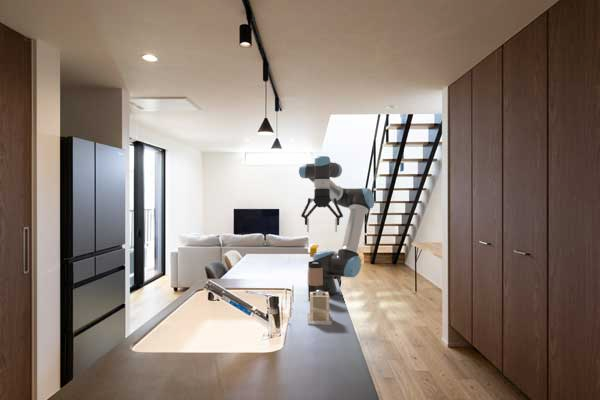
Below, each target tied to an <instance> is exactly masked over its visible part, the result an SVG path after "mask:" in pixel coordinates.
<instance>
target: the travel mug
mask: <svg viewBox="0 0 600 400" xmlns="http://www.w3.org/2000/svg"><path fill="white" fill-rule="evenodd" d="M307 290H308V292H307V293H308V302H309V303H310V292H316V290H323V262H320V261H313V260H312V261H311V260H310V261H308V267H307Z"/></svg>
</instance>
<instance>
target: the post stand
mask: <svg viewBox="0 0 600 400" xmlns="http://www.w3.org/2000/svg"><path fill="white" fill-rule="evenodd" d="M316 296H323V290H316ZM332 322H333V321H332V316H331V313H329V320H310V313H307V325H309V326H310V325H312V326H314V325H317V326H318V325H319V326H320V325H322V326H326V325H327V326H329V325H330V326H331V325H332V324H333V323H332Z"/></svg>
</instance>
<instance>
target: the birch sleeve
mask: <svg viewBox="0 0 600 400" xmlns="http://www.w3.org/2000/svg"><path fill="white" fill-rule="evenodd" d="M309 314H310V320H329V314H330V295H329V294H328V292H323V296H316V292H310V302H309Z"/></svg>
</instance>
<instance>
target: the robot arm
mask: <svg viewBox="0 0 600 400" xmlns="http://www.w3.org/2000/svg"><path fill="white" fill-rule="evenodd" d="M342 172H343V169H342V166H341V165H340V164H339V163H337V162H332V161H331V158H330V157H329V156H327V155H321V156H320V155H318V156H316V157H315V158H314V163H304V164H303V163H302V164H300V166H299V170H298V174H299V176H300V178H301V179H308V180H310V181H311V182H312V183H313V184H314V185H313V186H314V190H313V191H314V198H311V197H309V198H308V199H307V203H306V205H305V207H304V209H303V211H302V213H301V214H300V216H301V218H304V226H306V232H307V233H309V232H310V218H309V216H310V215H311V214H312V213H313V212H314V210H315V209H316V208H326V207H327V208H328V209H329V211H330V212H331V213H332V214H333V215H334V216H335V218H334V232H335V233H337V232H338V226H339V225H340V219H341V218H344V215H343V213H342V211H341V209H340V207H339V206H341V207H343V208H347V209H349V211H350V212H349V217H348V222H347V225H346V228H345V229H346V230H345V233H344V237H343V242H342V245H341V248H339V249H338V251H337V254H336V253H335V251H334V250H325V251H317V253H315V254H314V257H312V259H313V260H312V261H320V262H323V292H328V294H329V296H333V295H336V294H337V293H338V288H337V285H336V282H335V276H337V277H342V278H343V277H344V278H355V277H357V276H358V275H359V274H360V271H361V268H362V258H361V257H360V254H359V252H358V248H359V243H360V240H361V235H362V230H363V225H364V222H365V217H366V214H368V213H369V210H370V209H373V208H374V206H375V197H374V196H375V195H374V193H373V191H372V189H370V188H366V187H365V188H364V187H362V188H344V187H341V186H340V185H337V184H336V183H334V182H333V181H332V180H331V178H334V179H335V178H339V177H340V176H341V175H342V174H343V173H342ZM312 202H313V203H314V205H313V206H312V208H311V209H310V210H309V211H308V213H307V210H308V209H309V207H310V204H311V203H312ZM330 203H333V204H334V206H335V208H336V211H337V212H336V211H335V210H334V208H333V207H332V206H331V205H330ZM305 214H306V215H305Z"/></svg>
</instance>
